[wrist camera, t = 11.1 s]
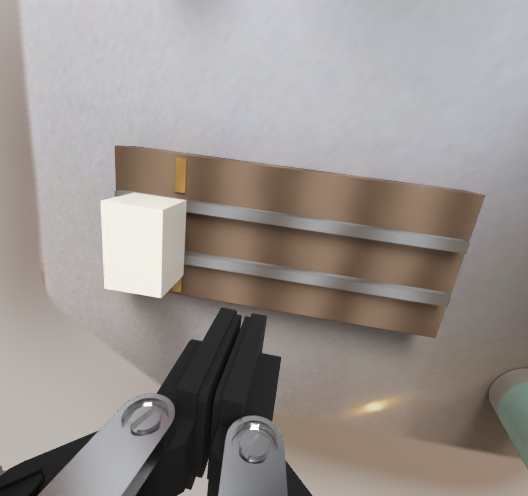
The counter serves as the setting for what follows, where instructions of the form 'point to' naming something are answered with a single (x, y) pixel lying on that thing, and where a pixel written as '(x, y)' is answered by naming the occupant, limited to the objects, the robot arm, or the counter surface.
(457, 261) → the linear slide rail
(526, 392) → the coffee cup
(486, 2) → the counter surface
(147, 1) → the counter surface
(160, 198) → the white block
